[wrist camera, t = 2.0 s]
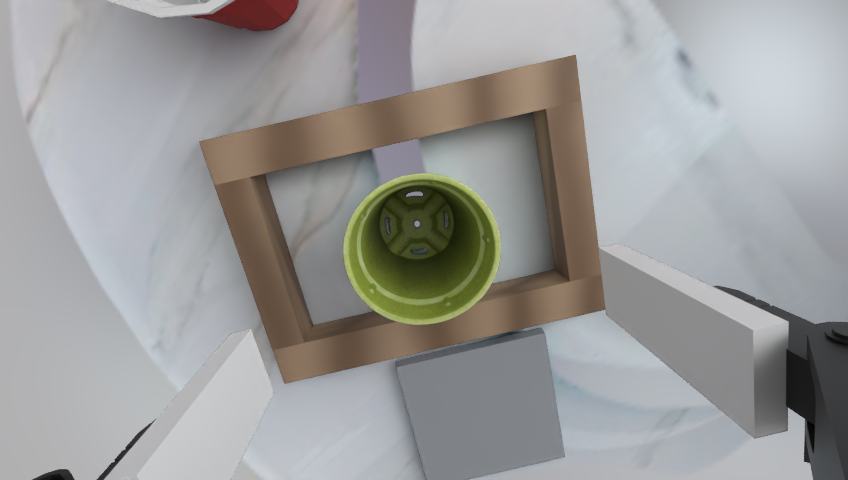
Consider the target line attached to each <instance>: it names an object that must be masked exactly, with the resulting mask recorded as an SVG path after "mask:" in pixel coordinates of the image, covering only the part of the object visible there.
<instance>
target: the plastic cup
mask: <svg viewBox="0 0 848 480" xmlns="http://www.w3.org/2000/svg"><path fill="white" fill-rule="evenodd" d="M108 1H110V2H112V3H116V4H119V5H122V6H125V7H128V8H131V9H134V10H137V11H140V12H143V13H146V14H150V15H153V16H156V17H159V18H175V17H185V16H192V17H195V18H204V19H208V20H211V21H215V22H219V23H222V24H226V25H229V26H233V27H236V28H246V29H249V30H253V31H261V30H272V29H275V28H277V27H278V26H280V25H282V24H283V23H285V22H287V21H288V20H289V18H290V17H291V15H292V14H293V13H294V11H295V10H296V8H297V5H298V0H108Z"/></svg>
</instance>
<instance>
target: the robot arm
mask: <svg viewBox="0 0 848 480" xmlns="http://www.w3.org/2000/svg"><path fill="white" fill-rule="evenodd" d="M599 256H600V265H601V274H602V282H603V291H604V299H605V308H606V315H607V316H608V317H610V318H611V319H612V320H613V321H614V322H616V323H617V324H618V325H619V326H620V327H622V328H623V329H624V330H625V331H626V332H628V333H629V334H630V335H631V336H632V337H634V338H635V339H636V340H637V341H638V342H640V343H641V344H642V345H643V346H644V347H646V348H647V349H648V350H649V351H650V352H652V353H653V354H654V355H655V356H656V357H658V358H659V359H660V360H661V361H662V362H664V363H665V364H666V365H667V366H668V367H670V368H671V369H672V370H673V371H674V372H676V373H677V374H678V375H679V376H680V377H682V378H683V379H684V380H685V381H686V382H688V383H689V384H690V385H691V386H692V387H694V388H695V389H696V390H697V391H698V392H700V393H701V394H702V395H703V396H704V397H706V398H707V399H708V400H709V401H710V402H711V403H713V404H714V405H715V406H716V407H717V408H719V409H720V410H721V411H722V412H723V413H725V414H726V415H727V416H728V417H729V418H731V419H732V420H733V421H734V422H735V423H737V424H738V425H739V426H740V427H741V428H743V429H744V430H745V431H746V432H747V433H749V434H750V435H751V436H752V437H753V438H760V437H764V436H768V435H772V434H776V433H780V432H785V431H787V430H788V408H790V409H791V410H793V411H794V412H796V413H798V414H799V415H800V416H802V417H803V418H805V446H804V462H808V463H810V464H811V470H812V475H813V480H848V323H847V322H826V323H819V324H814V323H811V322H809V321H807V320H804V319H802V318H800V317H798V316H795V315H793V314H791V313H789V312H786V311H784V310H782V309H779V308H777V307H775V306H770V305H769V304H768V303H766V302H764V301H761V300H759V299H758V300H756V299H755V298H754V297H752V296H750V295H748V294H745V293H743V292H741V291H739V290H734V289H730V288H725V287H721V286H710V285H708V284H706V283H704V282H702V281H700V280H698V279H695V278H693V277H691V276H689V275H687V274H685V273H682V272H680V271H678V270H676V269H674V268H672V267H669V266H667V265H665V264H663V263H661V262H659V261H657V260H654V259H652V258H650V257H648V256H646V255H644V254H641V253H639V252H637V251H635V250H633V249H631V248H628V247H626V246H624V245H622V244H620V243H616V244H612V245H608V246H603V247H599ZM273 394H274V391H273V388H272V385H271V383H270V380H269V377H268V374H267V372H266V369H265V366H264V363H263V361H262V358H261V355H260V352H259V350H258V347H257V344H256V342H255V339H254V336H253V333H252V331H251V329H248V330H244V331H240V332H235V333H231V334H230V335H229V336H228V337H227V338H226V339H225V340H224V342H223V343H222V344H221V345H220V346H219V347H218V349H217V350H216V351H215V352H214V353H213V354H212V355H211V357H210V358H209V359H208V360H207V361H206V362H205V364H204V365H203V366H202V367H201V368H200V369H199V370H198V372H197V373H196V374H195V375H194V376H193V377H192V379H191V380H190V381H189V382H188V383H187V384H186V385H185V387H184V388H183V389H182V390H181V391H180V392H179V394H178V395H177V396H176V397H175V398H174V399H173V401H172V402H171V403H170V404H169V405H168V406H167V408H166V409H165V410H164V411H163V412H162V413H161V414H160V416H159V417H158V418H157V419H155V420H154V421H153V422H152V423H150V424H149V425H148V426H146V427H145V428H144V429H143V430H142V431H140V432H139V433H138V434H137V435H136V436H135V437H134V439H133V440H132V441H131V442H130V443H129V444H128V445H127V447H126V450H123V451H122V452H121V453H120V454H119V456H117V458H116V459H115V462H113V463H111V464H110V465H109V467H108V468H107V469H106V470H105V471H104V472H103V473H102V475H101V476H100V477H99V478H98V479H97V480H232V478H233V476H234V473H235V472H236V469H237V468H238V465H239V464H240V462H241V460H242V457H243V455H244V453H245V451H246V449H247V447H248V445H249V443H250V441H251V439H252V437H253V435H254V433H255V431H256V429H257V427H258V425H259V423H260V421H261V419H262V417H263V415H264V413H265V411H266V408H267V406H268V404H269V402H270V400H271V398H272V396H273ZM33 480H74V478H73V476H72V474H71V473H70V472H69V470H66V469H59V470H55V471H52V472H49V473H46V474H43V475H41V476H39V477H37V478H35V479H33Z"/></svg>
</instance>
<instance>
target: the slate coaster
mask: <svg viewBox="0 0 848 480" xmlns="http://www.w3.org/2000/svg"><path fill="white" fill-rule="evenodd" d="M396 370H397V373H398V377H399V381H400V384H401V388H402V392H403V396H404V399H405V403H406V407H407V410H408V414H409V418H410V421H411V425H412V429H413V432H414V436H415V440H416V443H417V447H418V451H419V455H420V458H421V462H422V466H423V469H424V473H425V477H426V480H468V479H473V478H477V477H481V476H486V475H490V474H494V473H498V472H503V471H507V470H511V469H516V468H520V467H524V466H529V465H533V464H537V463H542V462H546V461H550V460H555V459H559V458H563V457H565V454H564V448H563V442H562V436H561V429H560V423H559V417H558V411H557V405H556V398H555V392H554V386H553V380H552V374H551V367H550V361H549V355H548V349H547V343H546V336H545V332H544V331H543V330H542V328H538V329H533V330H529V331H525V332H520V333H516V334H512V335H507V336H503V337H499V338H494V339H490V340H486V341H481V342H477V343H473V344H468V345H464V346H460V347H455V348H451V349H447V350H442V351H438V352H434V353H429V354H425V355H421V356H416V357H412V358H408V359H404V360H399V361H396Z"/></svg>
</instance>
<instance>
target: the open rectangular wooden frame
mask: <svg viewBox="0 0 848 480" xmlns="http://www.w3.org/2000/svg"><path fill="white" fill-rule="evenodd" d="M530 112H532V114H533V121H534V128H535V135H536V142H537V148H538V155H539V162H540V169H541V175H542V182H543V189H544V196H545V203H546V209H547V216H548V223H549V230H550V236H551V243H552V250H553V257H554V263H555V270H551V271H547V272H543V273H538V274H534V275H530V276H525V277H521V278H517V279H512V280H508V281H504V282H499V283H495V284H491V286H490V287H489V289H488V290H487V292H486V293H485V294H484V296H483V297H482V298H481V299H480V300H479V301H477V302H476V303H475V304H474V305H473V306H472V307H471V308H469V309H468V310H466V311H465V312H463V313H461V314H460V315H458V316H456V317H454V318H452V319H449V320H446V321H443V322H439V323H433V324H425V325H413V324H405V323H400V322H397V321H394V320H391V319H388V318H386V317H384V316H382V315H381V314H379V313H377V312H376V311H374V312H370V313H365V314H361V315H357V316H352V317H348V318H344V319H339V320H335V321H331V322H326V323H322V324H318V325H312V322H311V319H310V316H309V313H308V309H307V306H306V303H305V300H304V297H303V294H302V291H301V288H300V284H299V281H298V278H297V275H296V272H295V269H294V266H293V263H292V260H291V256H290V253H289V250H288V247H287V244H286V241H285V238H284V235H283V231H282V228H281V225H280V222H279V219H278V216H277V213H276V210H275V206H274V203H273V200H272V197H271V194H270V191H269V188H268V185H267V182H266V178H265V175H264V174H265V173H269V172H274V171H278V170H282V169H287V168H291V167H295V166H300V165H304V164H308V163H313V162H317V161H321V160H326V159H330V158H335V157H339V156H343V155H348V154H352V153H356V152H361V151H365V150H369V149H374V148H377V147H382V146H387V145H391V144H395V143H400V142H404V141H408V140H413V139H417V138H421V137H426V136H430V135H434V134H439V133H443V132H447V131H452V130H456V129H460V128H465V127H469V126H473V125H478V124H482V123H487V122H491V121H495V120H500V119H504V118H508V117H513V116H517V115H521V114H526V113H530ZM199 143H200V146H201V149H202V152H203V155H204V158H205V160H206V163H207V166H208V169H209V172H210V175H211V177H212V180H213V183H214V186H215V189H216V191H217V194H218V197H219V200H220V203H221V206H222V208H223V211H224V214H225V217H226V220H227V223H228V225H229V228H230V231H231V234H232V237H233V239H234V242H235V245H236V248H237V251H238V254H239V256H240V259H241V262H242V265H243V268H244V271H245V273H246V276H247V279H248V282H249V285H250V287H251V290H252V293H253V296H254V299H255V302H256V304H257V307H258V310H259V313H260V316H261V319H262V321H263V324H264V327H265V330H266V333H267V335H268V338H269V341H270V344H271V347H272V350H273V352H274V355H275V358H276V361H277V364H278V367H279V369H280V372H281V375H282V378H283V381H284V383H285V384H286V383H290V382H294V381H299V380H303V379H307V378H312V377H316V376H320V375H325V374H329V373H333V372H338V371H342V370H346V369H351V368H355V367H359V366H363V365H368V364H372V363H376V362H381V361H385V360H389V359H394V358H398V357H402V356H407V355H411V354H415V353H420V352H424V351H428V350H433V349H437V348H441V347H446V346H450V345H454V344H459V343H463V342H467V341H472V340H476V339H480V338H484V337H489V336H493V335H497V334H502V333H506V332H510V331H515V330H519V329H523V328H528V327H532V326H536V325H541V324H545V323H549V322H554V321H558V320H562V319H567V318H571V317H575V316H580V315H584V314H588V313H593V312H597V311H601V310H606V308H605V299H604V291H603V282H602V274H601V265H600V257H599V248H598V240H597V231H596V223H595V214H594V206H593V197H592V189H591V180H590V172H589V163H588V154H587V146H586V137H585V129H584V120H583V112H582V103H581V95H580V86H579V78H578V69H577V61H576V55H573V56H568V57H564V58H560V59H555V60H551V61H547V62H542V63H538V64H533V65H529V66H525V67H520V68H516V69H512V70H507V71H503V72H499V73H494V74H490V75H486V76H481V77H477V78H473V79H468V80H464V81H460V82H455V83H451V84H447V85H442V86H438V87H433V88H429V89H425V90H420V91H416V92H412V93H407V94H403V95H399V96H395V97H390V98H386V99H381V100H377V101H373V102H368V103H364V104H360V105H355V106H351V107H347V108H342V109H338V110H334V111H329V112H325V113H320V114H316V115H312V116H307V117H303V118H299V119H294V120H290V121H286V122H281V123H277V124H273V125H268V126H264V127H260V128H255V129H251V130H247V131H242V132H238V133H234V134H229V135H225V136H220V137H216V138H212V139H207V140H203V141H199Z"/></svg>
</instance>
